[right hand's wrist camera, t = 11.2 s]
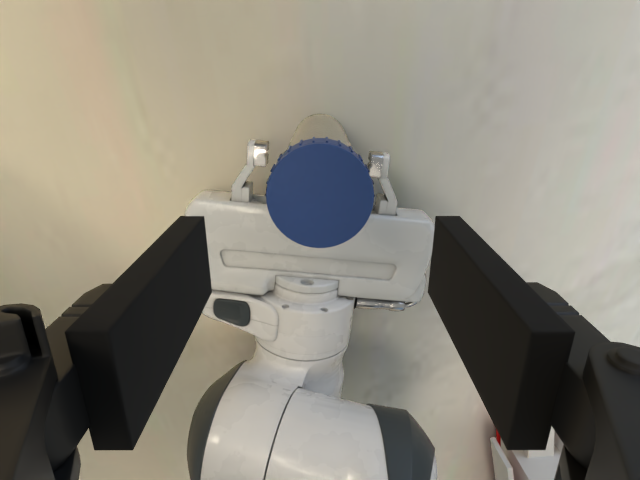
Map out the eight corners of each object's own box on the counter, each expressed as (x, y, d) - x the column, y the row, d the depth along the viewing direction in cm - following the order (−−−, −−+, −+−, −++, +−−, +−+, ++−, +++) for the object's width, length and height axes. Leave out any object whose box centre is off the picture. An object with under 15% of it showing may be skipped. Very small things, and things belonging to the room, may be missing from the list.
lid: (249, 166, 22) (243, 175, 20) (343, 117, 21) (345, 120, 19) (299, 251, 24) (297, 266, 22) (387, 208, 23) (393, 220, 21)
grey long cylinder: (284, 129, 38) (252, 175, 20) (331, 103, 38) (342, 128, 20) (309, 175, 40) (300, 256, 22) (355, 152, 39) (384, 215, 21)
